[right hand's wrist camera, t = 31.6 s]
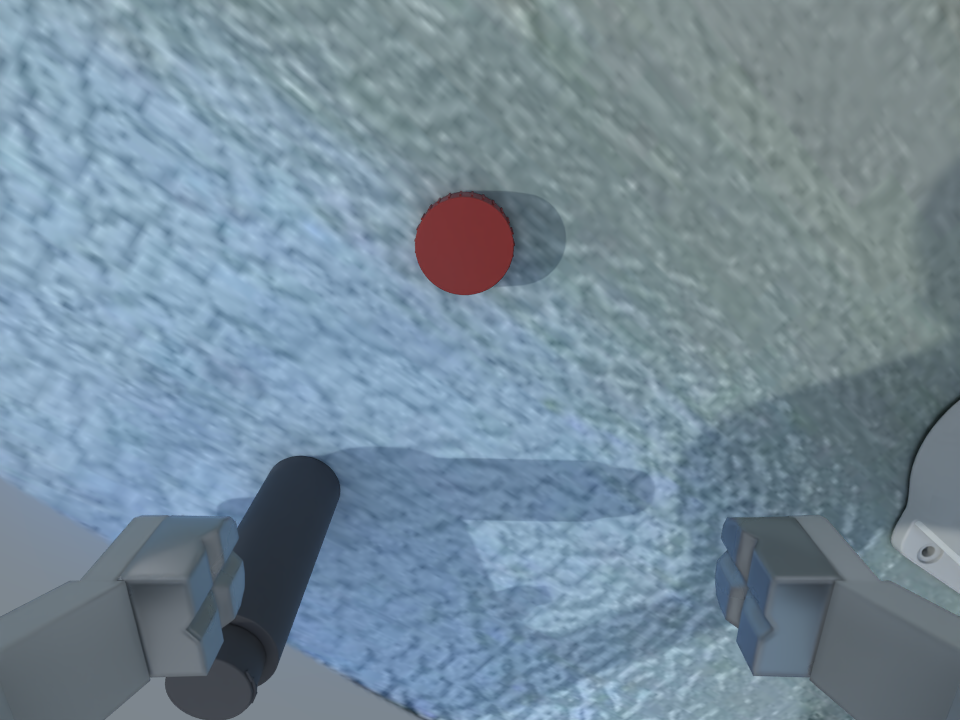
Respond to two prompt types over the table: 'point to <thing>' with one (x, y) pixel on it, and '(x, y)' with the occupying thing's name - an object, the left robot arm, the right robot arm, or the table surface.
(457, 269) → the lid
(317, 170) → the table surface
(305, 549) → the dark grey bottle
